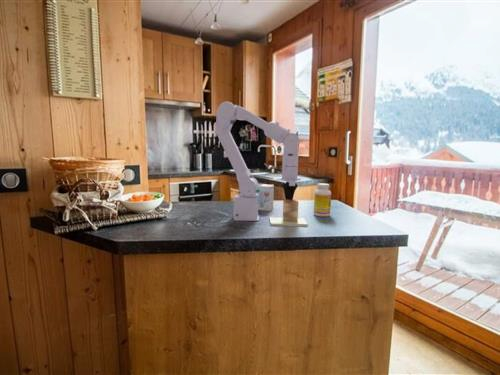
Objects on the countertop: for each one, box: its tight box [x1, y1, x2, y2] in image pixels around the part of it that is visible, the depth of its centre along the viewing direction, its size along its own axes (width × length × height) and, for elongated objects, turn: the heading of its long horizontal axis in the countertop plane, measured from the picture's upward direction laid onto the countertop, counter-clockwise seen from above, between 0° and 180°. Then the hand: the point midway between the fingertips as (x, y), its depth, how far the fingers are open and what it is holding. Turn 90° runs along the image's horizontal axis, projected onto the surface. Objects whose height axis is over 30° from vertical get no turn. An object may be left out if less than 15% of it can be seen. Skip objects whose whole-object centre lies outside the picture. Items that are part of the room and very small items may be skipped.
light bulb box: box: [256, 183, 275, 212], centre depth 130 cm, size 11×7×11 cm, turn 73°
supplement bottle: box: [313, 182, 332, 217], centre depth 120 cm, size 7×7×13 cm
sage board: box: [269, 216, 309, 227], centre depth 108 cm, size 13×9×1 cm
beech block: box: [282, 198, 299, 222], centre depth 107 cm, size 5×4×8 cm
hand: (288, 202), depth 110 cm, fingers closed
